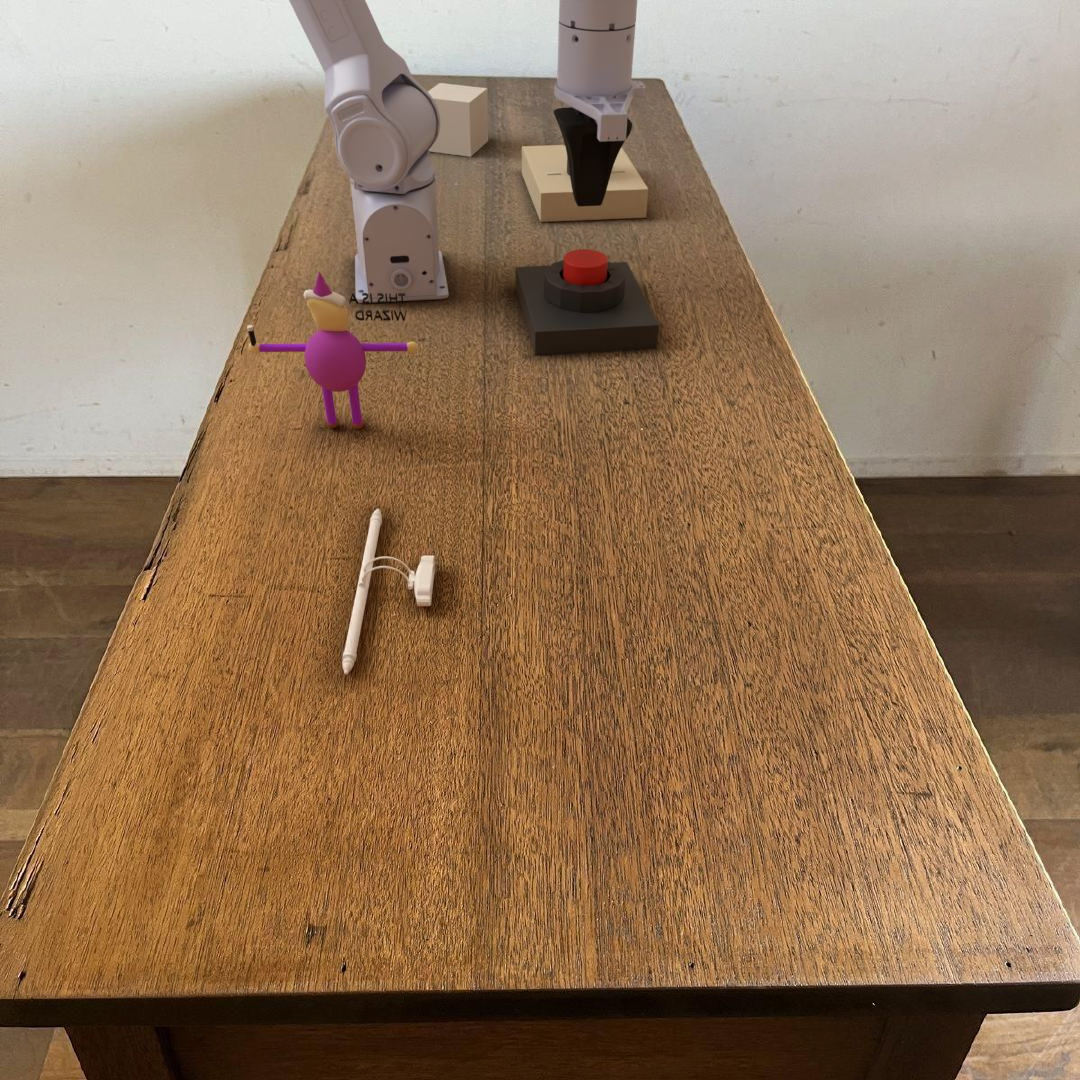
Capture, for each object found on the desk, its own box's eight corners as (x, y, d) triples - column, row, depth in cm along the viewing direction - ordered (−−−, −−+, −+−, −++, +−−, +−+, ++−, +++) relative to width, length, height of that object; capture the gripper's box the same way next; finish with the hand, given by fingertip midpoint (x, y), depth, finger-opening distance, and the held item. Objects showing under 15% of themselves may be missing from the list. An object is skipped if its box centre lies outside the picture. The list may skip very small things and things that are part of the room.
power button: (610, 286, 80) (612, 266, 79) (567, 288, 80) (567, 268, 79) (601, 267, 83) (603, 247, 82) (559, 269, 82) (560, 249, 81)
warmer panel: (646, 217, 101) (648, 187, 99) (540, 222, 99) (540, 191, 97) (617, 170, 111) (619, 141, 109) (521, 173, 110) (521, 144, 108)
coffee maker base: (656, 349, 80) (661, 304, 77) (534, 356, 78) (535, 310, 76) (625, 284, 89) (628, 241, 86) (515, 290, 87) (515, 247, 85)
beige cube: (470, 157, 114) (469, 102, 110) (422, 150, 115) (419, 96, 111) (488, 140, 118) (487, 87, 114) (442, 135, 120) (439, 82, 116)
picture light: (373, 513, 62) (369, 487, 61) (441, 514, 63) (440, 487, 61) (339, 678, 52) (335, 650, 50) (422, 679, 52) (420, 651, 50)
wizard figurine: (424, 418, 71) (414, 261, 63) (422, 443, 69) (411, 283, 61) (267, 419, 71) (238, 261, 63) (259, 444, 68) (227, 282, 61)
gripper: (675, 45, 68) (656, 235, 77) (627, 0, 79) (616, 170, 88) (575, 48, 67) (567, 239, 76) (540, 1, 78) (538, 173, 87)
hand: (588, 203), depth 82 cm, fingers closed
